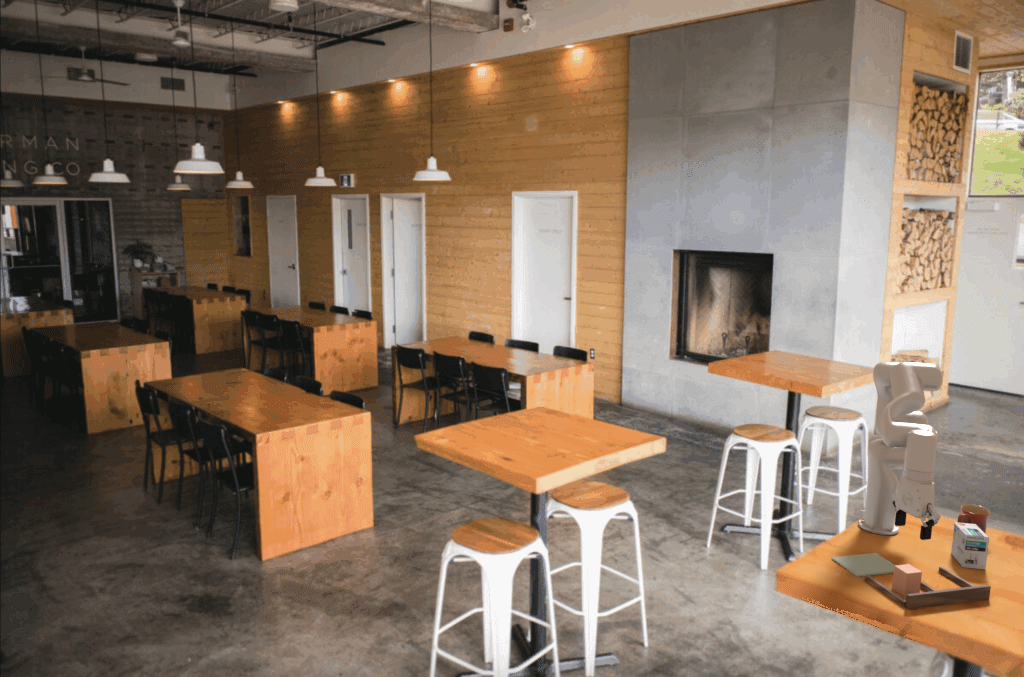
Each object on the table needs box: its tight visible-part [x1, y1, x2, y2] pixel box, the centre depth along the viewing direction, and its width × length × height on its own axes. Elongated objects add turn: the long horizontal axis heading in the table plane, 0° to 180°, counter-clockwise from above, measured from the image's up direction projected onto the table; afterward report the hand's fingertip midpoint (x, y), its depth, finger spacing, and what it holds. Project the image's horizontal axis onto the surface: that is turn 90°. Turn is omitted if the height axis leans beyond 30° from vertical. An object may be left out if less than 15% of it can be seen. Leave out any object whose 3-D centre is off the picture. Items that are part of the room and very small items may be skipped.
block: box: [891, 563, 923, 597], centre depth 218 cm, size 5×5×7 cm
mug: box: [956, 504, 992, 535], centre depth 254 cm, size 12×9×10 cm
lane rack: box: [864, 566, 992, 611], centre depth 219 cm, size 18×27×4 cm, turn 103°
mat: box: [831, 552, 896, 578], centre depth 234 cm, size 12×16×1 cm
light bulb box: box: [950, 521, 990, 570], centre depth 237 cm, size 11×7×11 cm, turn 168°
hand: (912, 532), depth 215 cm, fingers open, 9 cm apart
